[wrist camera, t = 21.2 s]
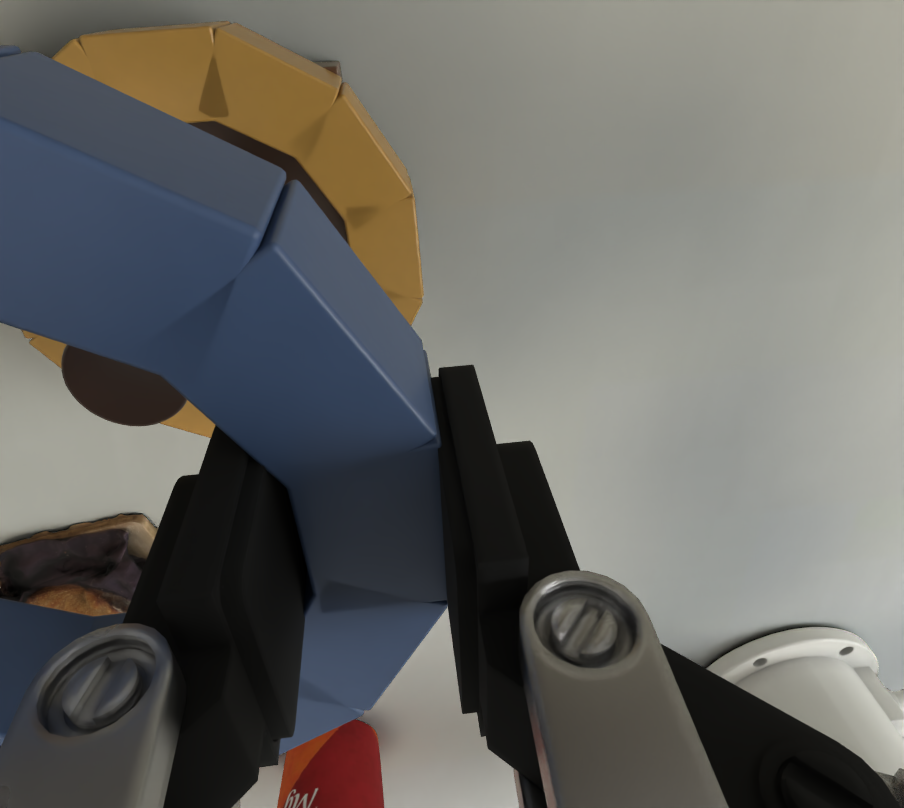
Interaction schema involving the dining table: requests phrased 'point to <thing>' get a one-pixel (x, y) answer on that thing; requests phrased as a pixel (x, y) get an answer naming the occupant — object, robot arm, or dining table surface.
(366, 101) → the dining table surface
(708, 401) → the dining table surface
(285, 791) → the paper cup
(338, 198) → the brass ring
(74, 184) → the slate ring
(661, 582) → the dining table surface
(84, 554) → the bun on tray
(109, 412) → the stand
